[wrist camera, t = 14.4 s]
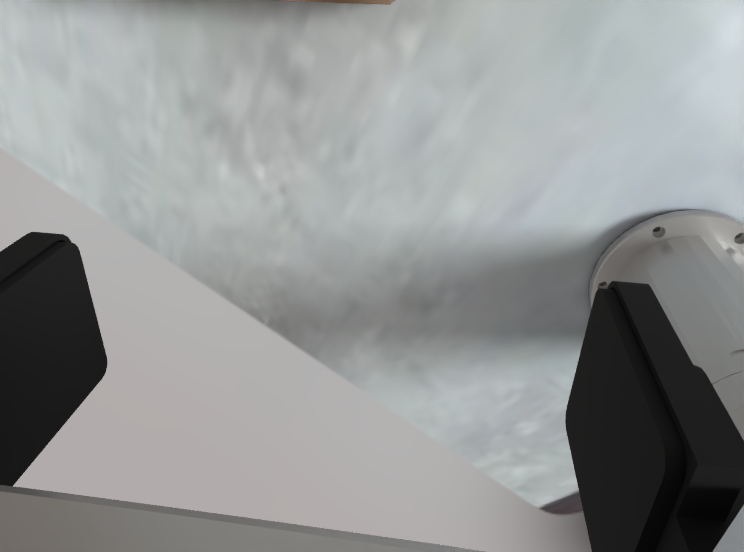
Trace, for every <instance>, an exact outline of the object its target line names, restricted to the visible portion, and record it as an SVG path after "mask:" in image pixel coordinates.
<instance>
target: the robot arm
mask: <svg viewBox="0 0 744 552" xmlns="http://www.w3.org/2000/svg"><path fill="white" fill-rule="evenodd" d="M656 227H658V228H657V229H656V230H654V229H655V228H656ZM737 234H738V235H737ZM601 282H603V283H601ZM589 301H590V307H591V313H590V317H589V321H588V325H587V329H586V333H585V337H584V341H583V345H582V349H581V353H580V357H579V361H578V365H577V369H576V373H575V377H574V381H573V385H572V389H571V393H570V397H569V401H568V405H567V410H566V431H567V436H568V440H569V445H570V450H571V454H572V459H573V464H574V469H575V473H576V478H577V483H578V488H579V492H580V497H581V502H582V506H583V511H584V516H585V521H586V525H587V529H588V535H589V540H590V544H591V549H592V552H744V223H742V222H740V221H738V220H736V219H734V218H732V217H730V216H728V215H724V214H720V213H716V212H712V211H703V210H685V211H674V212H670V213H667V214H663V215H659V216H655V217H653V218H651V219H648V220H646V221H644V222H641V223H639V224H637V225H636V226H634V227H633V228H631V229H629V230H628V231H626V232H624V233H623V234H622V235H621V236H620V237H619V238H617V239H616V240H615V241H614V242H613V243H612V244H611V245H610V246H609V247H608V248H607V250H606V251H605V252H604V253H603V255H602V256H601V257H600V259H599V261H598V263H597V265H596V267H595V268H594V271H593V274H592V277H591V281H590V286H589ZM106 368H107V356H106V353H105V349H104V345H103V341H102V337H101V333H100V329H99V325H98V321H97V317H96V313H95V309H94V306H93V302H92V298H91V294H90V290H89V286H88V282H87V278H86V275H85V270H84V266H83V262H82V258H81V255H80V251H79V249H78V247H77V246H76V245H75V244H74V243H71V241H70V239H69V238H68V237H67V236H65V235H63V234H52V233H40V232H31V233H28V234H26V235H25V236H23V237H22V238H20V239H19V240H17V241H16V242H14V243H13V244H11V245H10V246H8V247H7V248H5V249H4V250H2V251H1V252H0V552H484V551H477V550H471V549H464V548H458V547H452V546H445V545H438V544H431V543H423V542H417V541H410V540H403V539H395V538H388V537H381V536H374V535H367V534H360V533H353V532H346V531H339V530H331V529H324V528H317V527H310V526H302V525H296V524H288V523H282V522H274V521H267V520H260V519H252V518H245V517H238V516H230V515H223V514H216V513H208V512H201V511H194V510H186V509H179V508H172V507H164V506H157V505H149V504H141V503H134V502H127V501H119V500H111V499H104V498H97V497H89V496H81V495H74V494H67V493H59V492H52V491H43V490H36V489H28V488H20V487H13V485H14V484H15V482H16V481H17V480H18V479H19V478H20V476H21V475H22V474H23V473H24V472H25V471H26V469H27V468H28V467H29V466H30V465H31V463H32V462H33V461H34V460H35V458H36V457H37V456H38V455H39V454H40V452H41V451H42V450H43V449H44V448H45V446H46V445H47V444H48V443H49V442H50V441H51V439H52V438H53V437H54V436H55V434H56V433H57V432H58V431H59V430H60V428H61V427H62V426H63V425H64V424H65V422H66V421H67V420H68V419H69V418H70V416H71V415H72V414H73V413H74V412H75V410H76V409H77V408H78V407H79V406H80V404H81V403H82V402H83V401H84V399H85V398H86V397H87V396H88V395H89V393H90V392H91V391H92V390H93V389H94V388H95V386H96V385H97V384H98V383H99V382H100V380H101V379H102V378H103V376H104V374H105V372H106Z"/></svg>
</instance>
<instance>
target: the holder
mask: <svg viewBox="0 0 744 552" xmlns="http://www.w3.org/2000/svg"><path fill="white" fill-rule="evenodd" d="M281 1H308V2H335V3H362V4H389V5H390V4H391V3H392V2H394V1H395V0H281Z"/></svg>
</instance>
